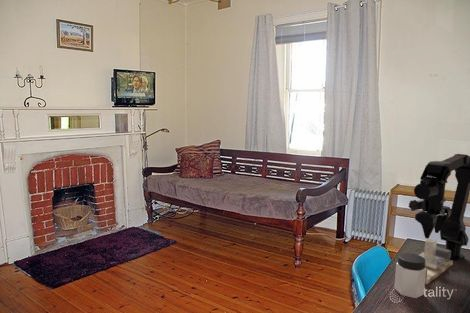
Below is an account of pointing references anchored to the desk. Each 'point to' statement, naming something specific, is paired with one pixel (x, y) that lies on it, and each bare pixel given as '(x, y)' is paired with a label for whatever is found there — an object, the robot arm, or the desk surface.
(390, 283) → the desk surface
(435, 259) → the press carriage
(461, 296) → the desk surface
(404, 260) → the jar
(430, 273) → the base
